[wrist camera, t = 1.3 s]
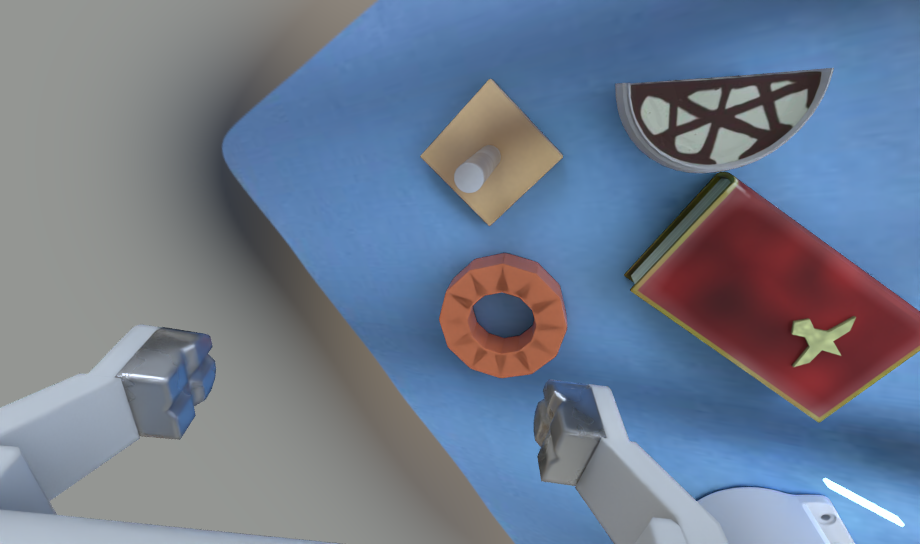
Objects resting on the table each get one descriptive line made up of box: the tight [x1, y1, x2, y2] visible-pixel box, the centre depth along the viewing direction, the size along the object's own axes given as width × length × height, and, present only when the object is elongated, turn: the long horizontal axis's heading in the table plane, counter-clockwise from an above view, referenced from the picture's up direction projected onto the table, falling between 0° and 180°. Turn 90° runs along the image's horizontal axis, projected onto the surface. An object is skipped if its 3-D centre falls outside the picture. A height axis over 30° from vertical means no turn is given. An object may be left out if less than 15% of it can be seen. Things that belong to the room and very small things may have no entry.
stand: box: [420, 79, 563, 226], centre depth 36 cm, size 9×9×12 cm
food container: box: [615, 68, 834, 173], centre depth 33 cm, size 12×6×10 cm, turn 94°
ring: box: [439, 253, 567, 378], centre depth 45 cm, size 12×12×3 cm
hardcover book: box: [624, 172, 920, 423], centre depth 39 cm, size 12×21×4 cm, turn 57°
